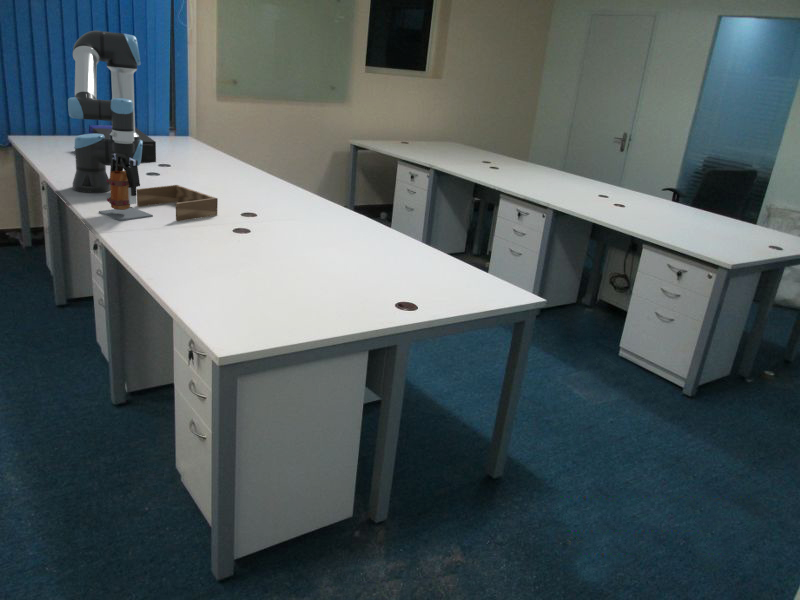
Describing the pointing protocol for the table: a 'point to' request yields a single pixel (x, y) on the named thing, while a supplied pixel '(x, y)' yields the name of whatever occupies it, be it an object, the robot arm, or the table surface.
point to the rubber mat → (125, 214)
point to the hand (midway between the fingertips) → (125, 201)
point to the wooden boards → (189, 201)
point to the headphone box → (148, 143)
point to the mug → (119, 190)
